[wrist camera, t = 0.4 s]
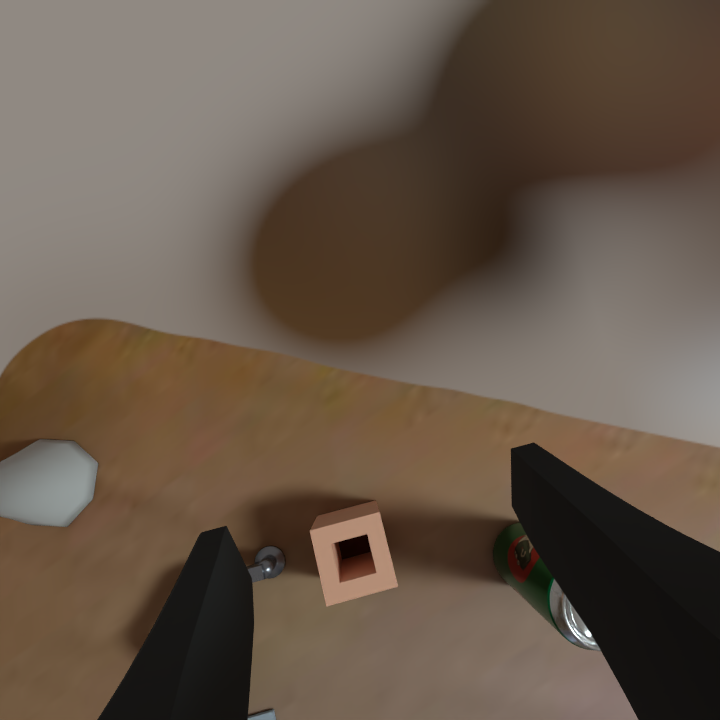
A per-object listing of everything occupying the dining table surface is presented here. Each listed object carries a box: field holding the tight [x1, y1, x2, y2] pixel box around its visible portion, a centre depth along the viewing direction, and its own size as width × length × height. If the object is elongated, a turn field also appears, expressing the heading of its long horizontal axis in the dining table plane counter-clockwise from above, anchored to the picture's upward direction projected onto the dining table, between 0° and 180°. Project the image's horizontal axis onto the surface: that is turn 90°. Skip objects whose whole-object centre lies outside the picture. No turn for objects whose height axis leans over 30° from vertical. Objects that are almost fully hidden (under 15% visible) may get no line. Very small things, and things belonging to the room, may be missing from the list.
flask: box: [0, 439, 98, 527], centre depth 32 cm, size 7×7×10 cm
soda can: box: [493, 523, 601, 651], centre depth 30 cm, size 5×5×12 cm
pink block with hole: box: [310, 500, 398, 606], centre depth 33 cm, size 5×5×6 cm
